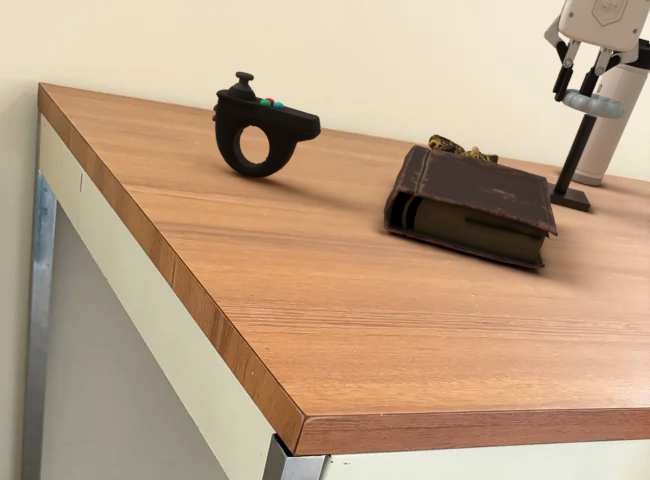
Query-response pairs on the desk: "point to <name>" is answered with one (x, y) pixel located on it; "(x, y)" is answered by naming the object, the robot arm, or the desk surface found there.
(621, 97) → the travel mug
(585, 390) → the desk surface
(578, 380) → the desk surface
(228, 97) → the controller
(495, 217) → the diary
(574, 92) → the ring
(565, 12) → the robot arm
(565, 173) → the stand
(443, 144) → the toy snake
